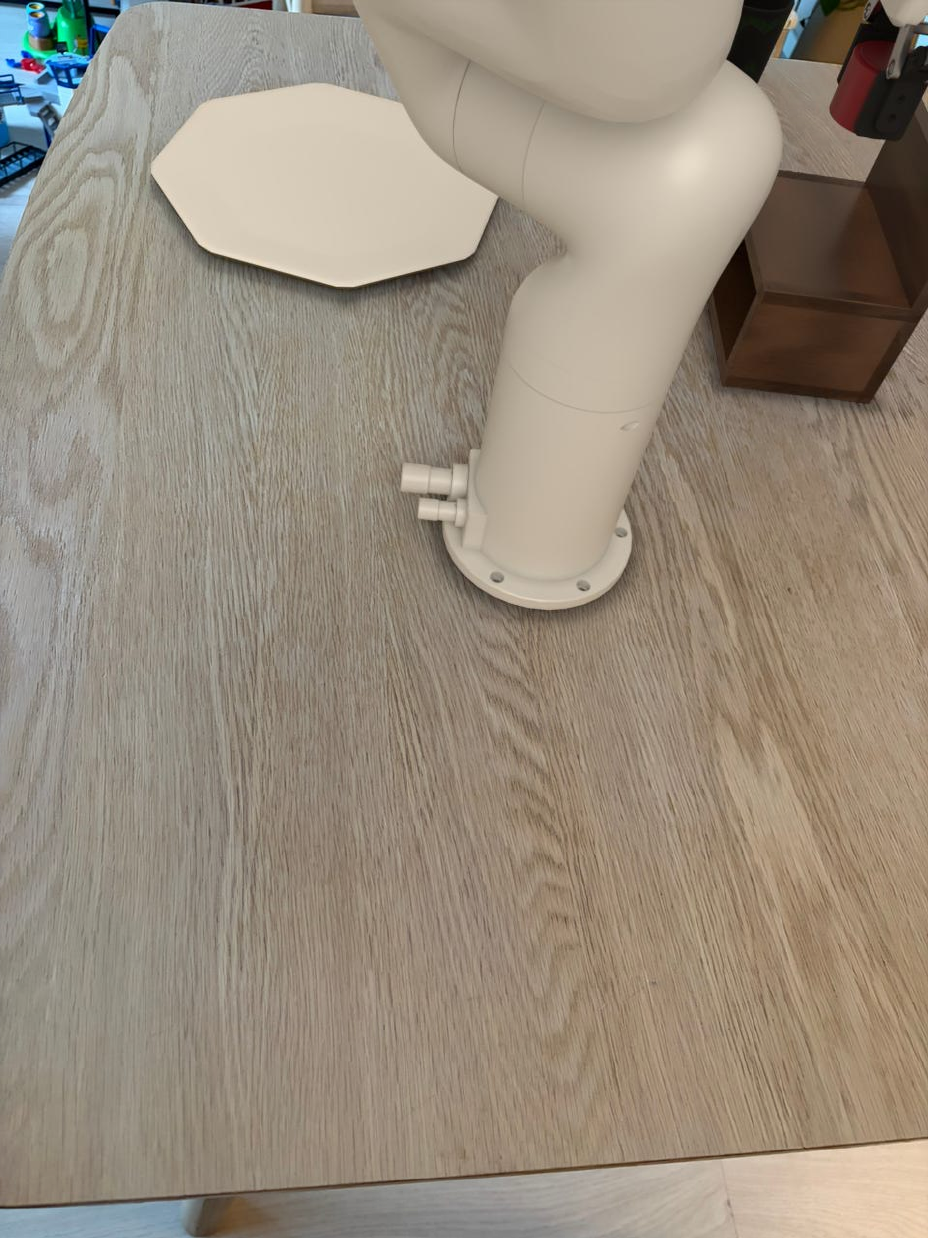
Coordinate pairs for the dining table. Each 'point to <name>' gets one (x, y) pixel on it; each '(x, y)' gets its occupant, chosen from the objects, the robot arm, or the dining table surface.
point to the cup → (758, 34)
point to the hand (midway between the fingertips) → (867, 108)
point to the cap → (859, 81)
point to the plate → (319, 187)
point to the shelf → (829, 278)
